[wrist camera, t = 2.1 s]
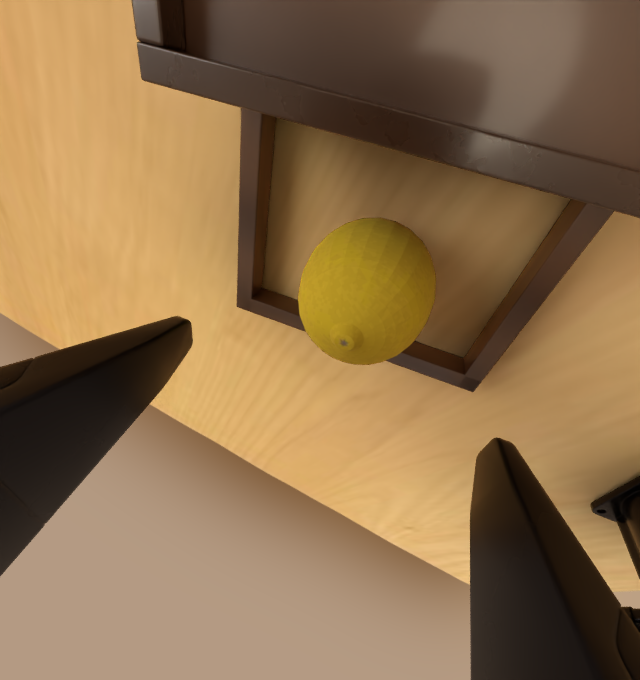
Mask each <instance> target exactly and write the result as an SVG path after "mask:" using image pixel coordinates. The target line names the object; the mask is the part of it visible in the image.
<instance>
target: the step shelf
mask: <svg viewBox="0 0 640 680" xmlns="http://www.w3.org/2000/svg"><path fill="white" fill-rule="evenodd" d="M132 7H133V14H134V21H135V29H136V36H137V39H138V40H139V41H141V42H137V48H138V56H139V63H140V70H141V78H142V80H144V81H147V82H150V83H154V84H157V85H161V86H165V87H168V88H172V89H175V90H179V91H183V92H186V93H190V94H194V95H197V96H201V97H204V98H208V99H212V100H215V101H219V102H222V103H226V104H230V105H233V106H237V107H241V147H240V191H239V235H238V280H237V307H239V308H242V309H244V310H247V311H250V312H253V313H255V314H258V315H261V316H264V317H267V318H269V319H272V320H275V321H278V322H280V323H283V324H286V325H289V326H291V327H294V328H297V329H300V330H302V331H305V328H304V325H303V323H302V320H301V317H300V314H299V303H298V300H295V299H292V298H289V297H286V296H284V295H281V294H278V293H275V292H272V291H269V290H266V289H264V288H262V282H263V270H264V258H265V245H266V233H267V221H268V209H269V196H270V184H271V172H272V160H273V147H274V135H275V123H276V117H277V118H280V119H284V120H287V121H291V122H295V123H298V124H302V125H306V126H309V127H313V128H316V129H320V130H324V131H327V132H331V133H334V134H338V135H342V136H345V137H349V138H353V139H356V140H360V141H363V142H367V143H371V144H374V145H378V146H381V147H385V148H389V149H392V150H396V151H399V152H403V153H407V154H410V155H414V156H418V157H421V158H425V159H428V160H432V161H436V162H439V163H443V164H446V165H450V166H454V167H457V168H461V169H465V170H468V171H472V172H475V173H479V174H483V175H486V176H490V177H493V178H497V179H501V180H504V181H508V182H512V183H515V184H519V185H522V186H526V187H530V188H533V189H537V190H540V191H544V192H548V193H551V194H555V195H558V196H562V197H566V198H569V199H571V201H570V202H569V204H568V205H567V207H566V208H565V210H564V211H563V213H562V214H561V216H560V217H559V219H558V220H557V222H556V223H555V224H554V226H553V227H552V229H551V230H550V232H549V233H548V235H547V236H546V238H545V239H544V241H543V242H542V244H541V245H540V247H539V248H538V250H537V251H536V253H535V254H534V256H533V257H532V258H531V260H530V261H529V263H528V264H527V266H526V267H525V269H524V270H523V272H522V273H521V275H520V276H519V278H518V279H517V281H516V282H515V284H514V285H513V287H512V288H511V290H510V291H509V292H508V294H507V295H506V297H505V298H504V300H503V301H502V303H501V304H500V306H499V307H498V309H497V310H496V312H495V313H494V315H493V316H492V318H491V319H490V321H489V322H488V323H487V325H486V326H485V328H484V329H483V331H482V332H481V334H480V335H479V337H478V338H477V340H476V341H475V343H474V344H473V346H472V347H471V349H470V350H469V352H468V353H467V355H466V356H465V357H464V358H461V357H458V356H455V355H452V354H449V353H446V352H444V351H441V350H438V349H435V348H432V347H429V346H426V345H424V344H421V343H418V342H415V341H413V343H412V344H411V345H410V346H409V347H407V348H406V349H405V350H403V351H402V352H401V353H400V354H398V355H397V356H395V357H393V358H390V359H388V360H386V361H388V362H391V363H394V364H396V365H399V366H402V367H405V368H407V369H410V370H413V371H416V372H418V373H421V374H424V375H427V376H430V377H432V378H435V379H438V380H441V381H443V382H446V383H449V384H452V385H454V386H457V387H460V388H463V389H465V390H468V391H471V392H474V391H475V389H476V388H477V387H478V386H479V384H480V383H481V382H482V380H483V379H484V378H485V376H486V375H487V374H488V373H489V371H490V370H491V369H492V367H493V366H494V365H495V364H496V362H497V361H498V360H499V358H500V357H501V356H502V355H503V353H504V352H505V351H506V349H507V348H508V347H509V346H510V344H511V343H512V342H513V340H514V339H515V338H516V337H517V335H518V334H519V333H520V331H521V330H522V329H523V328H524V326H525V325H526V324H527V322H528V321H529V320H530V319H531V317H532V316H533V315H534V314H535V312H536V311H537V310H538V308H539V307H540V306H541V305H542V303H543V302H544V301H545V299H546V298H547V297H548V296H549V294H550V293H551V292H552V290H553V289H554V288H555V287H556V285H557V284H558V283H559V281H560V280H561V279H562V278H563V276H564V275H565V274H566V272H567V271H568V270H569V269H570V267H571V266H572V265H573V263H574V262H575V261H576V260H577V258H578V257H579V256H580V254H581V253H582V252H583V251H584V249H585V248H586V247H587V245H588V244H589V243H590V242H591V240H592V239H593V238H594V236H595V235H596V234H597V233H598V231H599V230H600V229H601V228H602V226H603V225H604V224H605V222H606V221H607V220H608V219H609V217H610V216H611V215H612V213H613V212H614V211H616V212H620V213H624V214H627V215H631V216H634V217H638V218H640V0H132ZM305 332H306V331H305Z"/></svg>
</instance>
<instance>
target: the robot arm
mask: <svg viewBox="0 0 640 680" xmlns="http://www.w3.org/2000/svg"><path fill="white" fill-rule="evenodd" d="M192 343H193V338H192V327H191V322H190V321H189V320H187V319H184V318H182V317H179V316H175V317H171V318H167V319H164V320H161V321H157V322H154V323H150V324H147V325H143V326H140V327H137V328H133V329H130V330H126V331H123V332H119V333H116V334H113V335H109V336H106V337H102V338H99V339H95V340H92V341H89V342H85V343H82V344H78V345H75V346H71V347H68V348H64V349H61V350H58V351H54V352H51V353H47V354H44V355H41V356H37V357H35V358H34V359H33V358H30V359H27V360H23V361H20V362H16V363H13V364H9V365H6V366H2V367H0V576H1V575H2V574H3V573H4V572H5V570H6V569H7V568H8V567H9V566H10V564H11V563H12V562H13V561H14V560H15V559H16V558H17V557H18V555H19V554H20V553H21V552H22V551H23V549H24V548H25V547H26V546H27V545H28V544H29V543H30V542H31V540H32V539H33V538H34V537H35V536H36V535H37V533H38V532H39V531H40V530H41V529H42V528H43V526H44V525H45V523H47V522H48V520H49V519H50V518H51V517H52V516H53V515H54V513H55V512H56V511H57V510H58V509H59V508H60V506H61V505H62V504H63V503H64V502H65V501H66V500H67V498H68V497H69V496H70V495H71V494H72V493H73V491H74V490H75V489H76V488H77V487H78V486H79V485H80V483H81V482H82V481H83V480H84V479H85V478H86V476H87V475H88V474H89V473H90V472H91V471H92V469H93V468H94V467H95V466H96V465H97V464H98V463H99V461H100V460H101V459H102V458H103V457H104V456H105V455H106V453H107V452H108V451H109V450H110V449H111V448H112V446H113V445H114V444H115V443H116V442H117V441H118V440H119V438H120V437H121V436H122V435H123V434H124V433H125V431H126V430H127V429H128V428H129V427H130V426H131V425H132V423H133V422H134V421H135V420H136V419H137V418H138V416H139V415H140V414H141V413H142V412H143V411H144V409H145V408H146V407H147V406H148V405H149V404H150V403H151V401H152V400H153V399H154V398H155V397H156V396H157V394H158V393H159V392H160V391H161V390H162V388H163V387H164V386H165V384H166V383H167V382H168V380H169V379H170V377H171V376H172V375H173V373H174V372H175V370H176V369H177V367H178V366H179V364H180V363H181V361H182V360H183V359H184V357H185V356H186V354H187V353H188V351H189V350H190V348H191V346H192ZM590 506H591V508H592V511H593V513H595V514H597V515H600V516H602V517H605V518H607V519H610V520H612V521H615V522H617V523H618V526H619V528H620V531H621V533H622V536H623V538H624V541H625V543H626V546H627V548H628V551H629V554H630V556H631V559H632V561H633V564H634V566H635V569H636V571H637V574H638V576H639V579H640V476H639V477H637V478H635V479H633V480H632V481H630V482H628V483H626V484H624V485H623V486H621V487H619V488H617V489H615V490H614V491H612V492H610V493H608V494H607V495H605V496H603V497H601V498H599V499H598V500H596V501H594V502H592V503H591V505H590ZM470 612H471V614H470V615H471V617H470V618H471V620H470V621H471V680H640V609H633V608H632V607H621V605H620V603H619V601H618V600H617V598H616V597H615V595H614V594H613V592H612V591H611V589H610V588H609V586H608V585H607V583H606V582H605V580H604V579H603V577H602V576H601V574H600V573H599V571H598V570H597V568H596V567H595V565H594V564H593V562H592V561H591V559H590V558H589V556H588V555H587V553H586V552H585V550H584V549H583V547H582V546H581V544H580V543H579V541H578V540H577V538H576V537H575V535H574V534H573V532H572V531H571V529H570V528H569V526H568V525H567V523H566V522H565V520H564V519H563V517H562V516H561V514H560V513H559V511H558V510H557V508H556V507H555V505H554V504H553V502H552V501H551V499H550V498H549V496H548V495H547V493H546V492H545V490H544V489H543V487H542V486H541V484H540V483H539V481H538V480H537V478H536V477H535V475H534V474H533V472H532V471H531V469H530V468H529V466H528V465H527V463H526V462H525V460H524V459H523V457H522V456H521V454H520V453H519V451H518V450H517V448H516V447H515V446H514V444H512V443H511V442H509V441H506V440H503V439H501V438H497V437H496V438H494V439H492V440H491V441H490V442H489V443H488V444H487V445H486V446H485V447H484V448H483V449H482V450H481V451H480V452H479V454H478V456H477V459H476V466H475V475H474V484H473V492H472V501H471V512H470Z"/></svg>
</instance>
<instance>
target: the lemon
mask: <svg viewBox="0 0 640 680" xmlns="http://www.w3.org/2000/svg"><path fill="white" fill-rule="evenodd" d="M435 290H436V274H435V270H434V266H433V262H432V258H431V256H430V254H429V252H428V250H427V249H426V247H425V245H424V244H423V242H422V241H421V240H420V239H419V238H418V237H417V236H416V235H415V234H414V233H413V232H412V231H411V230H410V229H409V228H407V227H405V226H403V225H401V224H399V223H397V222H395V221H391V220H387V219H383V218H362V219H359V220H355V221H352V222H349V223H346V224H344V225H342V226H341V227H339V228H338V229H336V230H334V231H333V232H331V233H330V234H328V235H327V236H326V237H325V238H324V240H323V241H322V242H321V243H320V244H319V245H318V246H317V247H316V248H315V250H314V251H313V252H312V254H311V256H310V258H309V260H308V262H307V264H306V266H305V269H304V271H303V274H302V277H301V282H300V288H299V294H298V303H299V314H300V317H301V320H302V323H303V325H304V328H305V331H306V332H307V334H308V335H309V337H310V338H311V340H312V341H313V342H314V343H315V344H316V345H317V346H318V347H319V348H320V349H321V350H322V351H323V352H325V353H326V354H328V355H329V356H331V357H333V358H335V359H337V360H340V361H342V362H346V363H350V364H360V365H370V364H375V363H381V362H383V361H386V360H388V359H390V358H393V357H395V356H397V355H398V354H400V353H401V352H402V351H403V350H405V349H406V348H407V347H409V346H410V345H411V344H412V343H413V341H414V340H415V339H416V337H417V336H418V335H419V333H420V332H421V331H422V329H423V328H424V326H425V324H426V322H427V320H428V318H429V315H430V312H431V309H432V307H433V304H434V300H435Z"/></svg>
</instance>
